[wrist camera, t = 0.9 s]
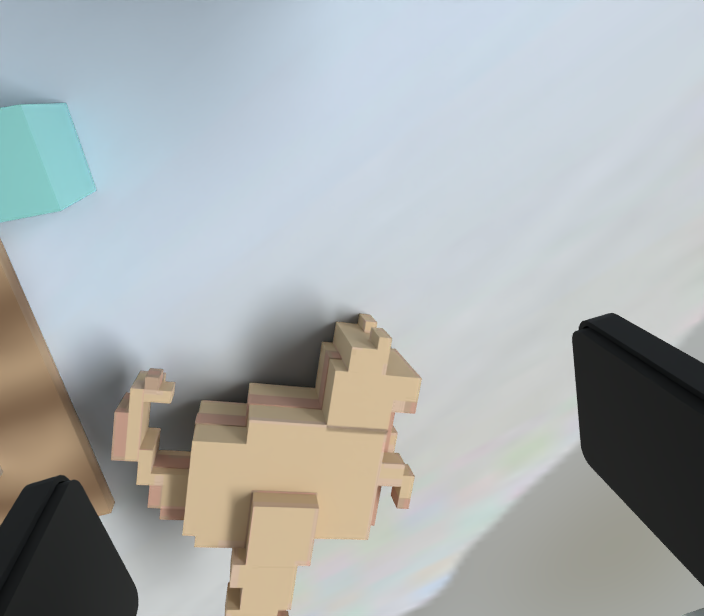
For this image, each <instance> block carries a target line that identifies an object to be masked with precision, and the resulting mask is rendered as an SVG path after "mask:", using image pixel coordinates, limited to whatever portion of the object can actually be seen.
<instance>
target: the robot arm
mask: <svg viewBox="0 0 704 616" xmlns="http://www.w3.org/2000/svg"><path fill="white" fill-rule="evenodd" d="M572 343H573V355H574V367H575V380H576V392H577V404H578V416H579V428H580V440H581V449H582V452H583V455H584V457H585V459H586V461H587V462H588V464H589V465H590V466H591V467H592V468H593V470H594V471H595V472H596V473H597V474H598V475H599V476H600V477H601V478H602V479H603V480H604V481H605V482H606V483H607V484H608V485H609V486H610V488H611V489H612V490H613V491H614V492H615V493H616V494H617V495H618V496H619V497H620V498H621V499H622V500H623V501H624V502H625V503H626V505H627V506H628V507H629V508H630V509H631V510H632V511H633V512H634V513H635V514H636V515H637V516H638V517H639V518H640V519H641V520H642V521H643V523H644V524H645V525H646V526H647V527H648V528H649V529H650V530H651V531H652V532H653V533H654V534H655V535H656V536H657V537H658V538H659V539H660V541H661V542H662V543H663V544H664V545H665V546H666V547H667V548H668V549H669V550H670V551H671V552H672V553H673V554H674V555H675V556H676V557H677V559H678V560H679V561H680V562H681V563H682V564H683V565H684V566H685V567H686V568H687V569H688V570H689V571H690V572H691V573H692V574H693V576H694V577H695V578H696V579H697V580H698V581H699V582H700V583H701V584H702V585H703V586H704V363H702V362H700V361H698V360H697V359H695V358H693V357H691V356H689V355H688V354H686V353H684V352H682V351H681V350H679V349H677V348H675V347H673V346H672V345H670V344H668V343H666V342H665V341H663V340H661V339H659V338H658V337H656V336H654V335H652V334H650V333H649V332H647V331H645V330H643V329H642V328H640V327H638V326H636V325H634V324H633V323H631V322H629V321H627V320H626V319H624V318H622V317H620V316H619V315H617V314H614V313H609V314H605V315H602V316H599V317H595V318H592V319H588V320H585V321H582V322H581V323H580V326H579V330H578V331H575V332H574V333H573V336H572ZM137 610H138V593H137V589H136V586H135V584H134V582H133V580H132V578H131V577H130V575H129V573H128V571H127V569H126V567H125V565H124V563H123V562H122V560H121V558H120V556H119V554H118V552H117V550H116V548H115V547H114V545H113V543H112V541H111V539H110V537H109V535H108V533H107V531H106V530H105V528H104V526H103V524H102V522H101V520H100V518H99V516H98V515H97V513H96V511H95V509H94V507H93V505H92V503H91V501H90V500H89V498H88V496H87V494H86V492H85V490H84V488H83V486H82V485H81V483H80V482H79V481H78V480H75V479H74V480H69V478H67V477H66V476H65V475H58V476H55V477H51V478H48V479H45V480H41V481H38V482H34V483H31V484H28V485H26V486H25V487H24V488H23V490H22V491H21V493H20V494H19V496H18V498H17V499H16V501H15V503H14V504H13V506H12V507H11V509H10V511H9V512H8V514H7V516H6V517H5V519H4V521H3V522H2V524H1V525H0V616H136V614H137ZM681 616H704V608H702V609H699V610H696V611H693V612H690V613H687V614H684V615H681Z"/></svg>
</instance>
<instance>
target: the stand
mask: <svg viewBox="0 0 704 616" xmlns="http://www.w3.org/2000/svg"><path fill="white" fill-rule="evenodd" d="M0 466H1V468H2V470H3V474H2V475H1V476H0V525H1V524H2V522H3V521H4V519H5V517H6V516H7V514H8V512H9V511H10V509H11V507H12V506H13V504H14V503H15V501H16V499H17V498H18V496H19V494H20V493H21V491H22V490H23V488H24V487H25V486H26V485H28V484H31V483H34V482H38V481H41V480H45V479H48V478H51V477H55V476H58V475H65V476H66V477H67V478H69V480H74V479H75V480H78V481H79V482H80V483H81V485H82V486H83V488H84V490H85V492H86V494H87V496H88V498H89V500H90V501H91V503H92V505H93V507H94V509H95V511H96V513H97V515H98V516H101V515H105V514H109V513H111V512H112V509H113V506H114V503H115V501H114V499H113V496H112V494H111V492H110V490H109V487H108V485H107V483H106V480H105V478H104V476H103V473H102V471H101V469H100V467H99V464H98V462H97V460H96V457H95V455H94V453H93V450H92V448H91V446H90V444H89V441H88V439H87V437H86V434H85V432H84V430H83V427H82V425H81V423H80V421H79V418H78V416H77V414H76V411H75V409H74V407H73V404H72V402H71V400H70V398H69V395H68V393H67V391H66V388H65V386H64V384H63V381H62V379H61V377H60V375H59V372H58V370H57V368H56V365H55V363H54V361H53V358H52V356H51V354H50V352H49V349H48V347H47V345H46V342H45V340H44V338H43V335H42V333H41V331H40V329H39V326H38V324H37V322H36V319H35V317H34V315H33V312H32V310H31V308H30V306H29V303H28V301H27V299H26V296H25V294H24V292H23V290H22V287H21V285H20V283H19V280H18V278H17V276H16V273H15V271H14V269H13V267H12V264H11V262H10V260H9V257H8V255H7V253H6V250H5V248H4V246H3V244H2V241H1V239H0Z"/></svg>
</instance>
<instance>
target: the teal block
mask: <svg viewBox="0 0 704 616" xmlns="http://www.w3.org/2000/svg"><path fill="white" fill-rule="evenodd" d="M95 191H97V190H96V187H95V184H94V181H93V178H92V176H91V173H90V170H89V167H88V164H87V161H86V158H85V156H84V153H83V150H82V147H81V144H80V141H79V138H78V136H77V133H76V130H75V127H74V124H73V121H72V118H71V116H70V113H69V110H68V107H67V104H66V103H54V104H20V105H14V106H9V107H3V108H0V222H5V221H11V220H16V219H21V218H26V217H31V216H36V215H42V214H47V213H52V212H57V211H62V210H63V209H65V208H67V207H69V206H70V205H72V204H74V203H76V202H77V201H79V200H81V199H83V198H84V197H86V196H88V195H90V194H91V193H93V192H95Z"/></svg>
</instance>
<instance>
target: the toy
mask: <svg viewBox="0 0 704 616" xmlns="http://www.w3.org/2000/svg"><path fill="white" fill-rule="evenodd" d="M376 327H377V322H376V321H375V320H374V319H373V317H372V316H371V315H367V314H359V318H358V323H357V324H354V323H345V322H336V325H335V331H334V338H333V343H332V342H322V345H321V351H320V358H319V365H318V371H317V378H316V385H315V388H309V387H296V386H284V385H272V384H260V383H249V390H248V398H247V403H235V402H222V401H209V400H201V404H200V409H199V413H197V416H196V420H195V427H194V436H193V440H192V449H191V452H190V451H172V450H159V442H160V432H161V428H149V416H150V405H151V402H155V403H169V404H171V401H172V399H173V396H174V390H175V382H166V381H165V378H166V373H163V369H154V368H150V369H149V371H140V373H139V374H138V376H137V378H136V380H135V381H134V383H133V385H132V386H131V388H130V393H127V392H126V393H125V395H124V397H123V399H122V400H121V402H120V404H119V405H118V407H117V409H116V410H115V412H114V425H113V439H112V452H111V460H117V461H137V462H138V470H137V482H136V485H150V486H149V497H148V508H161V510H160V520H184V524H183V534H182V536H196V537H195V546H194V547H212V548H232V556H231V567H230V583H228V587H227V595H226V603H225V616H289V615H288V611H286V610H291V604H292V598H293V591H294V585H295V578H296V572H297V566H310V563H311V557H312V551H313V544H314V539H357V540H368V537H369V532H370V526H371V525H373V526H374V524H375V519H376V513H377V508H378V502H379V497H380V491H381V486H393V487H392V492H391V497H392V499H393V501H394V503H395V505H396V507H397V508H399V509H408V508H409V503H410V498H411V493H412V487H413V482H414V477H415V476H414V474H413V473H412V471H411V469H410V467H409V466H408V464H405V463H404V462H403V460H402V458H401V456H400V454H399V453H394V449H395V444H396V439H397V431H396V430H395V428H394V426H393V420H394V415H395V412H399V413H412V414H415V411H416V406H417V401H418V396H419V390H420V385H421V380H422V378H421V377H420V376H419V375H418V374H417V373H416V371H415V370H414V369H413V368H412V367H411V366H410V365H409V364H408V363H407V361H406V360H405V359H404V358H403V357H402V356H401V355H400V354H399V352H398V351H397V350H396V349H391V348H390V347H391V342H392V338H391V337H390V336H389V335H388V334H387V332H386V331H385V330H384V329H383V328H376Z"/></svg>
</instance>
